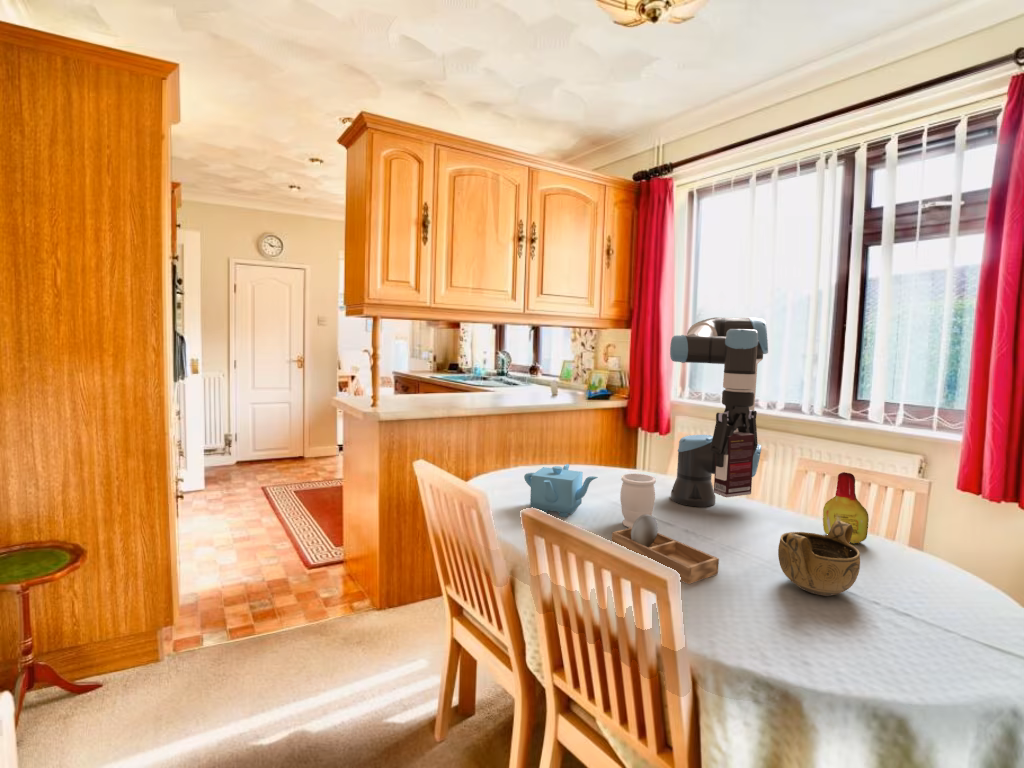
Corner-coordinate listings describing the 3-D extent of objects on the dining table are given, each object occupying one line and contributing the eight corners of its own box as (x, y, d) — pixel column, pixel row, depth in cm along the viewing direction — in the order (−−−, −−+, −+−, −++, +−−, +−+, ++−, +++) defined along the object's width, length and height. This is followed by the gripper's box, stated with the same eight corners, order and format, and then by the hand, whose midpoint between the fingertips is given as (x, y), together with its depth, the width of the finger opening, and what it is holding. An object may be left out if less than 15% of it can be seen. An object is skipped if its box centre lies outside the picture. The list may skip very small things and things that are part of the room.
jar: (654, 532, 165) (656, 483, 163) (618, 529, 167) (621, 480, 165) (652, 520, 175) (655, 474, 174) (619, 517, 177) (621, 471, 176)
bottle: (816, 534, 166) (822, 469, 164) (828, 531, 170) (833, 467, 168) (859, 548, 156) (865, 479, 154) (870, 544, 160) (876, 476, 158)
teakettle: (519, 505, 188) (520, 462, 186) (568, 499, 195) (569, 458, 194) (544, 524, 170) (546, 477, 169) (597, 516, 178) (598, 472, 176)
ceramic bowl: (824, 617, 118) (830, 548, 116) (753, 584, 132) (757, 523, 131) (877, 592, 130) (883, 530, 128) (807, 565, 144) (811, 509, 142)
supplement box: (737, 489, 147) (741, 430, 146) (751, 494, 143) (755, 434, 141) (712, 492, 144) (715, 432, 143) (725, 498, 140) (729, 435, 138)
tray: (639, 538, 160) (641, 505, 159) (717, 574, 138) (720, 535, 137) (611, 546, 154) (612, 511, 153) (688, 584, 132) (690, 543, 131)
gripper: (750, 387, 150) (744, 468, 152) (698, 390, 138) (693, 478, 140) (776, 389, 144) (770, 474, 146) (724, 393, 132) (718, 486, 134)
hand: (732, 476), depth 143 cm, fingers closed on supplement box, 9 cm apart
